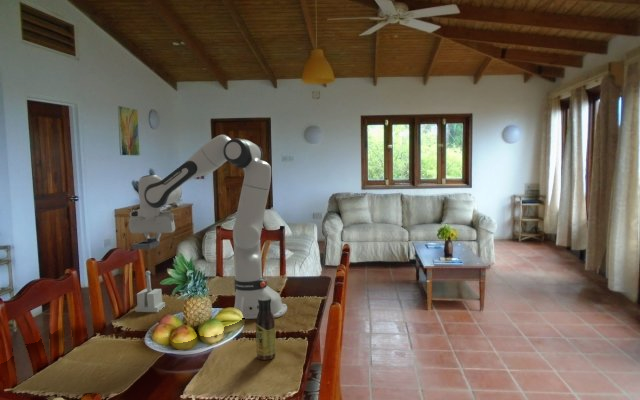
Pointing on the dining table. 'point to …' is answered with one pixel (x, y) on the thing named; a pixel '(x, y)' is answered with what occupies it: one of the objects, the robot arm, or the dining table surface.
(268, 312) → the sauce bottle
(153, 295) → the grey post holder
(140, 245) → the dark grey flat block
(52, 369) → the dining table surface
